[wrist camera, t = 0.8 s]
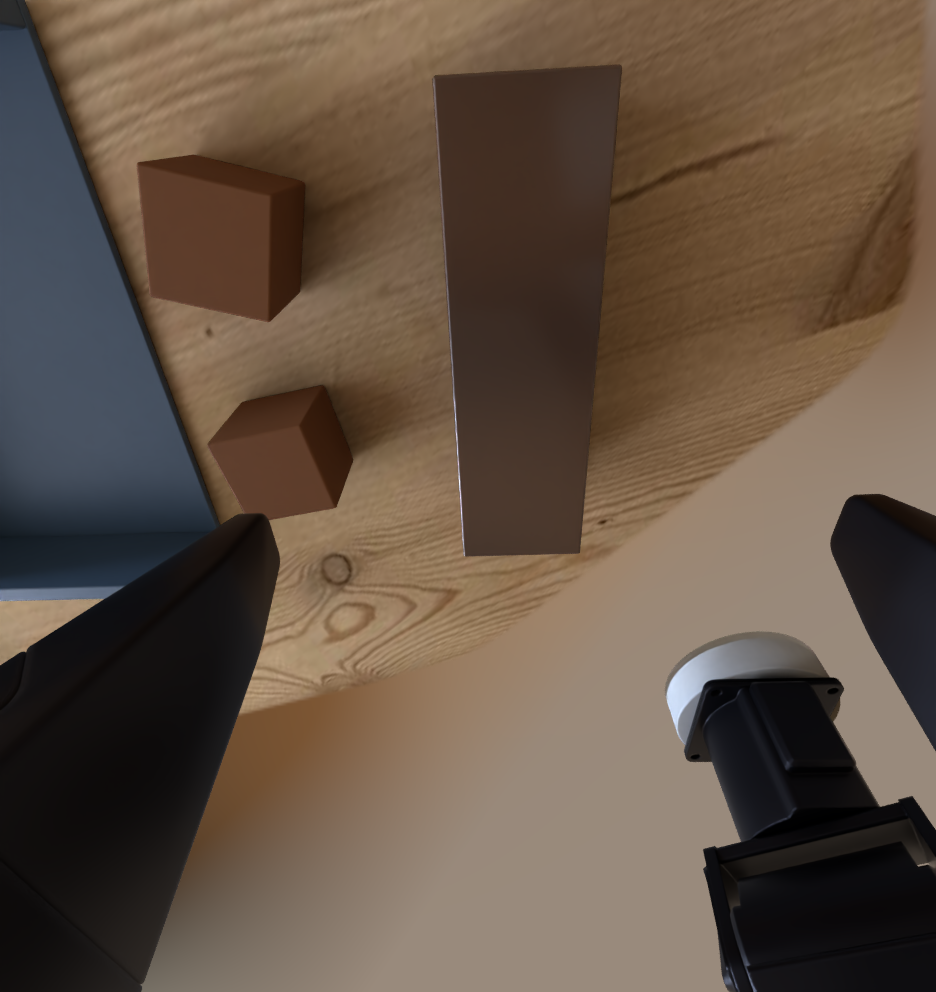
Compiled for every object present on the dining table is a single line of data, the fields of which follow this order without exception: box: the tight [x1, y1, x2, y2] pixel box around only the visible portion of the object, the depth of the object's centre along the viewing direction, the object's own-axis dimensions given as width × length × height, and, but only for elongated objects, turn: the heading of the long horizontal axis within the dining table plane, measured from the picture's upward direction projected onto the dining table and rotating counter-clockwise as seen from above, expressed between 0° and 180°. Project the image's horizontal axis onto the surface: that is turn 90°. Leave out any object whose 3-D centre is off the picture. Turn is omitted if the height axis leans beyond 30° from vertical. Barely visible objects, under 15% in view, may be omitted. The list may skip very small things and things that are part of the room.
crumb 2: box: [207, 385, 353, 520], centre depth 18 cm, size 3×3×3 cm
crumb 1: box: [137, 155, 305, 322], centre depth 15 cm, size 3×3×3 cm
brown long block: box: [432, 65, 622, 556], centre depth 16 cm, size 12×4×4 cm, turn 3°
